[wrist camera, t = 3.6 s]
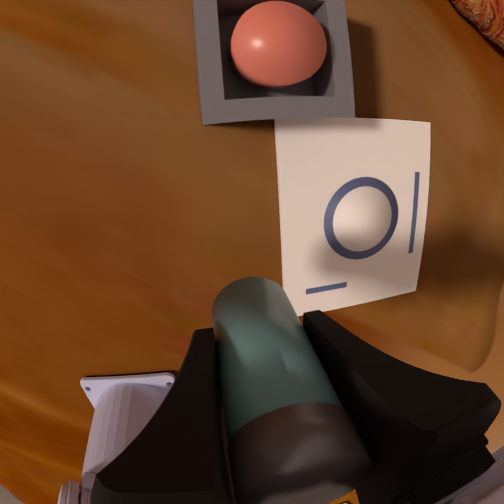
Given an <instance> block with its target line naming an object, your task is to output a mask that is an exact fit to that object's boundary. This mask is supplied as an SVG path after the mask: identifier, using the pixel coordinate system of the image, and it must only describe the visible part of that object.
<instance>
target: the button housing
mask: <svg viewBox="0 0 504 504" xmlns="http://www.w3.org/2000/svg"><path fill="white" fill-rule="evenodd" d="M268 1H284V2H289V3H292V4H295V5H298V6H300V7H302V8H303V9H305V10H306V11H308V12H309V13H310V14H311V15H313V16H314V17H315V19H316V20H317V21H318V22H319V24H320V25H321V27H322V29H323V31H324V34H325V37H326V43H327V49H326V55H325V59H324V61H323V63H322V65H321V67H320V68H319V69H318V70H317V72H315V73H314V74H313V75H312V76H311V77H309V78H307V79H305V80H303V81H301V82H298V83H295V84H292V85H290V86H287V87H284V88H281V89H275V90H266V89H260V88H256V87H254V86H251V85H250V84H248V83H246V82H245V81H243V80H242V79H241V78H240V77H239V76H238V75H237V74H236V73H235V71H234V70H233V68H232V66H231V64H230V61H229V57H228V45H229V41H230V39H231V36H232V34H233V31H234V29H235V27H236V25H237V22H238V20H239V19H240V18H241V16H242V15H243V14H244V13H245V12H246V11H247V10H249V9H250V8H251V7H253V6H255V5H257V4H260V3H263V2H268ZM193 20H194V36H195V50H196V63H197V76H198V88H199V100H200V111H201V121H202V125H208V124H217V123H227V122H237V121H250V120H265V119H284V118H355V104H354V88H353V74H352V63H351V52H350V43H349V34H348V26H347V18H346V11H345V4H344V0H193Z"/></svg>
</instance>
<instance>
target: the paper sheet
mask: <svg viewBox="0 0 504 504" xmlns="http://www.w3.org/2000/svg"><path fill="white" fill-rule="evenodd" d="M274 128H275V142H276V158H277V174H278V192H279V211H280V232H281V254H282V280H283V290H284V291H285V293H286V295H287V296H288V298H289V300H290V302H291V304H292V306H293V308H294V310H295V312H296V314H297V316H302V315H303V313H305V312H310V311H315V310H320V311H322V312H323V311H328V310H333V309H338V308H343V307H348V306H352V305H357V304H362V303H366V302H371V301H375V300H380V299H384V298H388V297H392V296H397V295H401V294H405V293H409V292H413V291H416V287H417V281H418V275H419V269H420V263H421V256H422V249H423V242H424V234H425V225H426V216H427V205H428V192H429V175H430V122H420V121H408V120H394V119H376V118H284V119H274Z"/></svg>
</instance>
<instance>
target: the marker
mask: <svg viewBox="0 0 504 504" xmlns="http://www.w3.org/2000/svg"><path fill="white" fill-rule="evenodd" d="M212 320H213V329H214V336H215V341H216V349H217V358H218V372H219V380H220V388H221V396H222V403H223V410H224V418H225V425H226V431H227V438H228V447H227V451H228V458H229V464H230V470H231V477H232V483H233V489H234V495H235V501H236V504H327V503H329V502H332V501H334V500H336V499H338V498H340V497H342V496H344V495H346V494H347V493H349V492H351V491H352V490H354V489H355V488H357V487H358V486H359V485H360V484H362V483H363V482H364V481H365V480H366V479H367V478H368V476H369V475H370V474H371V472H372V469H373V463H372V461H371V459H370V457H369V455H368V453H367V450H366V448H365V446H364V444H363V442H362V440H361V438H360V436H359V434H358V432H357V430H356V428H355V426H354V424H353V422H352V420H351V418H350V416H349V414H348V413H347V412H346V411H345V410H344V408H343V406H342V404H341V402H340V400H339V398H338V396H337V394H336V392H335V390H334V388H333V386H332V384H331V382H330V380H329V378H328V376H327V374H326V372H325V370H324V368H323V366H322V364H321V362H320V360H319V358H318V356H317V354H316V352H315V350H314V348H313V346H312V344H311V342H310V340H309V338H308V336H307V334H306V332H305V330H304V328H303V326H302V324H301V322H300V320H299V318H298V316H297V314H296V312H295V310H294V308H293V306H292V304H291V302H290V300H289V298H288V296H287V295H286V293H285V291H284V290H283V289H282V287H281V286H279V285H278V284H277V283H275V282H274V281H272V280H269V279H266V278H262V277H247V278H242V279H239V280H236V281H234V282H232V283H230V284H229V285H227V286H226V287H225V288H223V290H222V291H221V292H220V293H219V294H218V295H217V297H216V299H215V301H214V303H213V307H212Z"/></svg>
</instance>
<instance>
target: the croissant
mask: <svg viewBox="0 0 504 504" xmlns="http://www.w3.org/2000/svg"><path fill="white" fill-rule="evenodd" d="M450 1H451V2H452V3H453V4H454V6H455V8H456V9H457V10H458V11H459V12H460V13H461V14H462V15H463V16H465V17H467V18H468V19H469V20H470V21H472V22H473V23H474V24H475V25H476V27H477V28H478V30H479V31H480V32H481V33H482V34H483V35H484V36H486V37H487V38H488V39H490V40H491V41H492V42H494V43H496V44H498V45H499V46H500V47H501V48H502V50H504V0H450Z"/></svg>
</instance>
